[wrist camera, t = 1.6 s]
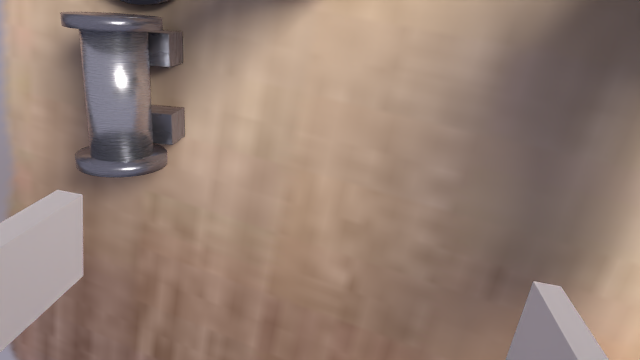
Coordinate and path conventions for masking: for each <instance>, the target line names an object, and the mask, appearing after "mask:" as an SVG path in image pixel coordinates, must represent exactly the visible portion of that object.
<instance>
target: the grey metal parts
mask: <svg viewBox="0 0 640 360" xmlns="http://www.w3.org/2000/svg"><path fill="white" fill-rule="evenodd" d="M121 1H124V2H127V3H132V4H159V3H163V2H166V1H169V0H121ZM61 22H62V26H64V27H68V28H76V29H79V37H80V47H81V58H82V69H83V80H84V91H85V102H86V113H87V124H88V135H89V146H87V147H85V148H82V149H80V150H79V151H77V152H76V154H75V159H76V167H77V169H78V170H79V171H81V172H83V173H86V174H89V175H93V176H100V177H131V176H139V175H144V174H149V173H152V172H155V171H158V170H160V169H162V168H164V167H165V166H166V165H167V162H168V160H167V150H166V149H165V148H164V147H162V146H160V145H157V144H153V143H158V144H169V145H173V144H174V143H176V142H177V141H178V140H180V139H181V138H183V137H184V136H185V119H184V108H183V107H171V106H160V105H151V89H150V67H149V65H150V66H162V67H172V66H175V65H178V64H181V63H183V37H182V32H180V31H168V30H163V25H162V18H161V17H155V16H146V15H135V14H120V13H100V12H61Z"/></svg>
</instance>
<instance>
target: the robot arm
mask: <svg viewBox="0 0 640 360" xmlns="http://www.w3.org/2000/svg"><path fill="white" fill-rule="evenodd" d="M81 277H83V195H82V194H77V193H72V192H66V191H61V190H56V191H54V192H53V193H51V194H49V195H48V196H46V197H44V198H42V199H41V200H39V201H37V202H35V203H34V204H32V205H30V206H29V207H27V208H25V209H23V210H22V211H20V212H18V213H16V214H15V215H13V216H11V217H10V218H8V219H6V220H4V221H3V222H1V223H0V352H1V351H2V350H3V349H4V348H6V347H7V346H8V345H9V344H10V343H11V342H12V341H13V340H14V339H15V338H16V337H17V336H19V335H20V334H21V333H22V332H23V331H24V330H25V329H26V328H27V327H28V326H29V325H30V324H32V323H33V322H34V321H35V320H36V319H37V318H38V317H39V316H40V315H41V314H42V313H44V312H45V311H46V310H47V309H48V308H49V307H50V306H51V305H52V304H53V303H54V302H55V301H57V300H58V299H59V298H60V297H61V296H62V295H63V294H64V293H65V292H66V291H67V290H68V289H70V288H71V287H72V286H73V285H74V284H75V283H76V282H77V281H78V280H79V279H80V278H81ZM506 360H609V359H608V358H607V356H606V355H605V353H604V352H603V350H602V349H601V347H600V345H599V344H598V342H597V341H596V339H595V338H594V336H593V335H592V333H591V332H590V330H589V329H588V327H587V326H586V324H585V322H584V321H583V319H582V318H581V316H580V315H579V313H578V312H577V310H576V309H575V307H574V306H573V304H572V303H571V301H570V299H569V298H568V296H567V295H566V293H565V292H564V290H563V289H562V287H561V286H557V285H552V284H546V283H541V282H536V281H533V283H532V286H531V289H530V292H529V295H528V298H527V300H526V303H525V306H524V309H523V312H522V315H521V317H520V320H519V323H518V326H517V329H516V332H515V334H514V337H513V340H512V343H511V346H510V349H509V351H508V354H507V357H506Z"/></svg>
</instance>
